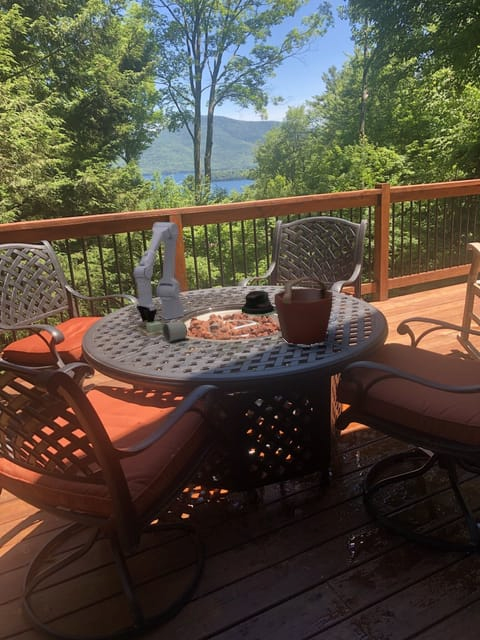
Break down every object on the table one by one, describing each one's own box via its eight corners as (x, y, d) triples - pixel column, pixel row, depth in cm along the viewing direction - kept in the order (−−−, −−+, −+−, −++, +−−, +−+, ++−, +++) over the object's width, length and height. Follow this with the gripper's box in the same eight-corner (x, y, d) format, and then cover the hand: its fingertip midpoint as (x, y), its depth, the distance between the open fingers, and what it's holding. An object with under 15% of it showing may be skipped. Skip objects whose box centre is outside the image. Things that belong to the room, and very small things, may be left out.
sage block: (157, 329, 212) (156, 320, 211) (162, 332, 208) (161, 323, 207) (146, 331, 209) (146, 322, 208) (151, 334, 205) (150, 325, 204)
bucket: (292, 354, 177) (292, 288, 170) (262, 338, 196) (260, 277, 188) (345, 342, 187) (347, 279, 180) (312, 327, 206) (312, 269, 199)
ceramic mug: (189, 339, 197) (187, 321, 195) (171, 344, 193) (169, 325, 191) (176, 333, 206) (175, 316, 203) (159, 338, 201) (157, 320, 199)
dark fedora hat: (242, 304, 247) (241, 287, 244) (281, 305, 243) (280, 287, 240) (233, 316, 228) (233, 297, 226) (275, 317, 224) (275, 297, 221)
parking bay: (159, 325, 217) (159, 323, 216) (169, 332, 207) (169, 329, 207) (137, 330, 212) (137, 327, 211) (147, 337, 202) (147, 334, 202)
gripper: (130, 291, 214) (133, 320, 218) (142, 297, 202) (145, 328, 206) (145, 288, 217) (148, 317, 221) (158, 294, 205) (160, 325, 209)
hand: (147, 322), depth 214 cm, fingers open, 7 cm apart
